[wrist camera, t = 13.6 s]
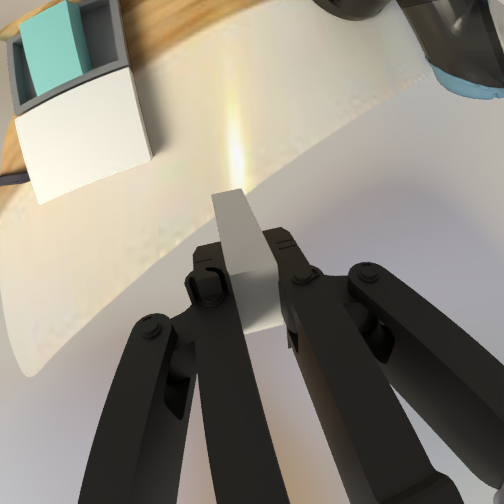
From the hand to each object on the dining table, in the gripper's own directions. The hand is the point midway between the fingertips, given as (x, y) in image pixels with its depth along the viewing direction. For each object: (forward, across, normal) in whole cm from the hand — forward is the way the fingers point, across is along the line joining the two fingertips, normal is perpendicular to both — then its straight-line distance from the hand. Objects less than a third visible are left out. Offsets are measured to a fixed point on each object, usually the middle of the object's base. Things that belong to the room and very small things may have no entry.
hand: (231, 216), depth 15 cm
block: (+21, -15, +13) cm, 29 cm away
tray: (+25, -16, +17) cm, 34 cm away
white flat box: (+24, -16, +5) cm, 29 cm away
